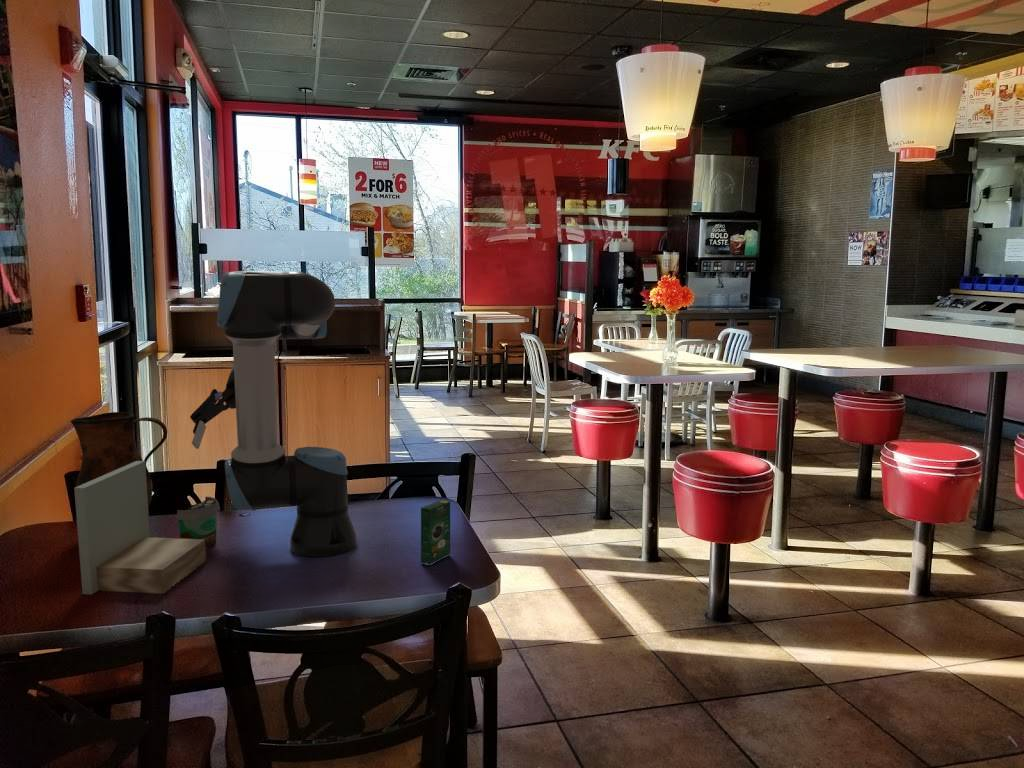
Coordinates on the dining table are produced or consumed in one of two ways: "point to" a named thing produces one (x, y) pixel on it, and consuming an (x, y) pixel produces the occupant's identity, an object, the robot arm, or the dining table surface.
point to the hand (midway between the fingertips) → (221, 446)
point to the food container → (199, 521)
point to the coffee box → (435, 531)
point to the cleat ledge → (151, 565)
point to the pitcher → (110, 445)
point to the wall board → (110, 518)
